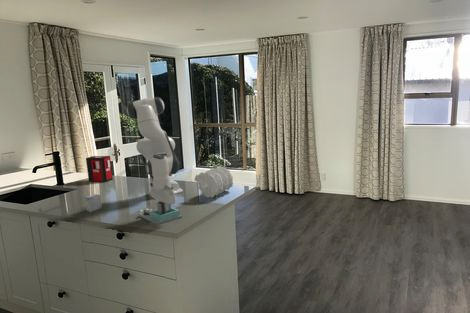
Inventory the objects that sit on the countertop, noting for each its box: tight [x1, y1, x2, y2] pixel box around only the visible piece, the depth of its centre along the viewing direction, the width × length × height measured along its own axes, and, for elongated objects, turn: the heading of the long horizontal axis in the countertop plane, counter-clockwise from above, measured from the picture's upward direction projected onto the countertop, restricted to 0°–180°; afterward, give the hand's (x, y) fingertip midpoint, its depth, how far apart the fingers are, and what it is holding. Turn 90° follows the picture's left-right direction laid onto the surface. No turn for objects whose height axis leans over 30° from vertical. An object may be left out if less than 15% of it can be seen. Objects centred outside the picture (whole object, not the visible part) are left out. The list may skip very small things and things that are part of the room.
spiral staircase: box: [194, 165, 234, 199], centre depth 237 cm, size 18×18×25 cm
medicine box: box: [84, 193, 103, 213], centre depth 219 cm, size 8×4×9 cm, turn 150°
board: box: [138, 208, 183, 226], centre depth 199 cm, size 15×21×4 cm
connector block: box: [156, 202, 172, 215], centre depth 196 cm, size 6×4×6 cm
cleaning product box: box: [85, 155, 114, 183], centre depth 297 cm, size 16×9×20 cm, turn 77°
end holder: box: [149, 206, 181, 221], centre depth 196 cm, size 12×11×3 cm
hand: (164, 209), depth 196 cm, fingers closed on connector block, 4 cm apart
